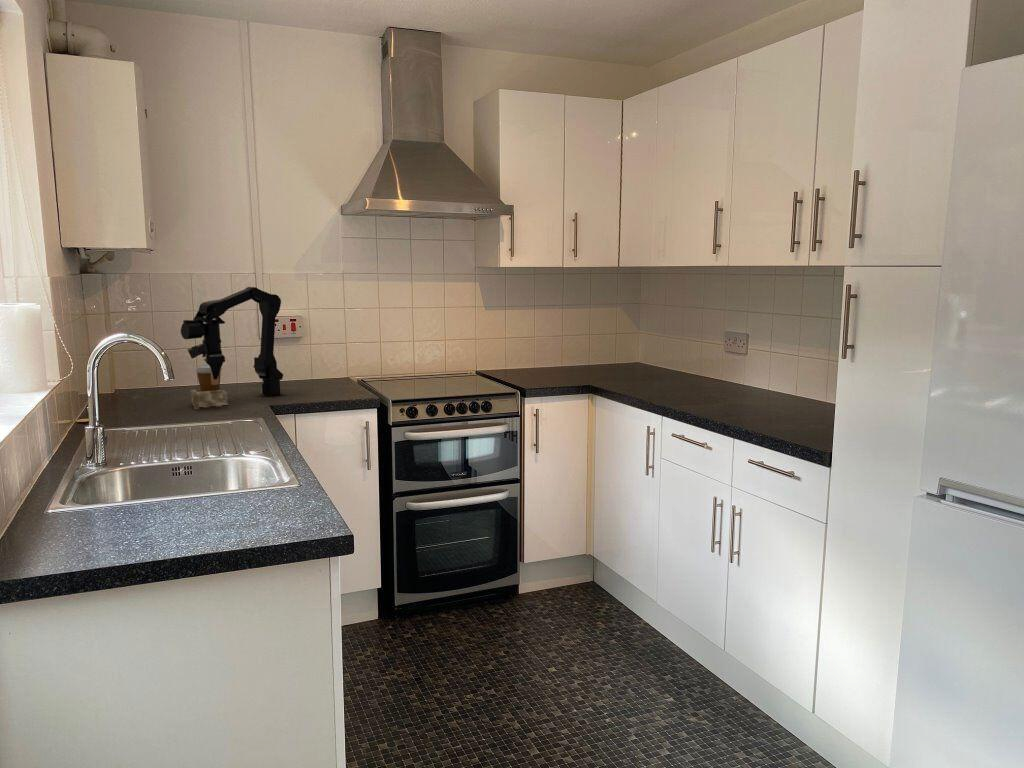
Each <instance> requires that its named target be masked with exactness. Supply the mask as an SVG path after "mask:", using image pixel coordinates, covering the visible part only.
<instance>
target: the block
mask: <svg viewBox="0 0 1024 768" xmlns="http://www.w3.org/2000/svg"><path fill="white" fill-rule="evenodd" d="M196 392H197V394H198V400H199V407H204V408H211V407H210V406H216V407H223V406H222V405H229V403H228V402H229V401H228V393H227V391H226V390H225V389H220V390H216V391H203V392H201V391H196Z"/></svg>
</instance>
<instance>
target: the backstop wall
mask: <svg viewBox="0 0 1024 768" xmlns="http://www.w3.org/2000/svg"><path fill="white" fill-rule="evenodd" d="M197 392H198V391H197V390H196V389H190V393H191V397H190V398H191V404H192V407H193V406H194V407H193V408H194V410H195V409H197V410H200V408H199V400H198V394H197Z"/></svg>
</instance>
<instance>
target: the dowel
mask: <svg viewBox="0 0 1024 768" xmlns="http://www.w3.org/2000/svg"><path fill="white" fill-rule="evenodd" d="M210 371H211V367H210ZM218 384H219V377H218V378H217V379H216V380H214V378H213V375H212V371H211V385H218Z"/></svg>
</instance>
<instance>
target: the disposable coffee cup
mask: <svg viewBox="0 0 1024 768" xmlns="http://www.w3.org/2000/svg"><path fill="white" fill-rule="evenodd" d="M195 372H196V375H197V379H198V385H199V389H200V392H203V391H216V390H221V389H220V387H221V373H222V367H221V370H220V372H219V375H218V377H219V384H218V385H211V371H210V366H209V365H208V364H202V365H197V366H196V368H195Z"/></svg>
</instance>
